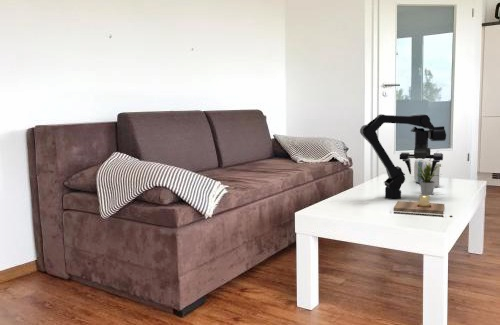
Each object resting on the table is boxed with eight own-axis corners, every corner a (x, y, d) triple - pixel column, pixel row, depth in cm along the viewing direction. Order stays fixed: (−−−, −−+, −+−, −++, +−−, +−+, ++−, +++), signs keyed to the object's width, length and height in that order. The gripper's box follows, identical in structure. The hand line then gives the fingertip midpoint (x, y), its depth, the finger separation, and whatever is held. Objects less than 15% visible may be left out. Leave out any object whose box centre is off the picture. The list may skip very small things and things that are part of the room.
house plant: (449, 196, 221) (450, 163, 219) (420, 197, 221) (421, 164, 219) (437, 191, 235) (437, 159, 233) (410, 192, 235) (410, 160, 233)
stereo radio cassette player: (413, 181, 266) (414, 147, 264) (427, 181, 266) (428, 147, 263) (425, 188, 245) (426, 151, 243) (441, 187, 245) (442, 150, 243)
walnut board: (393, 213, 190) (393, 207, 190) (400, 202, 211) (400, 196, 211) (443, 217, 183) (443, 210, 182) (445, 205, 203) (445, 199, 203)
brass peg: (418, 213, 190) (418, 196, 189) (419, 211, 194) (419, 194, 193) (428, 213, 188) (429, 197, 188) (429, 211, 192) (429, 195, 191)
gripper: (398, 142, 209) (397, 176, 211) (442, 143, 201) (441, 178, 203) (401, 140, 219) (400, 173, 221) (443, 141, 211) (442, 174, 213)
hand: (420, 174), depth 214 cm, fingers open, 9 cm apart
